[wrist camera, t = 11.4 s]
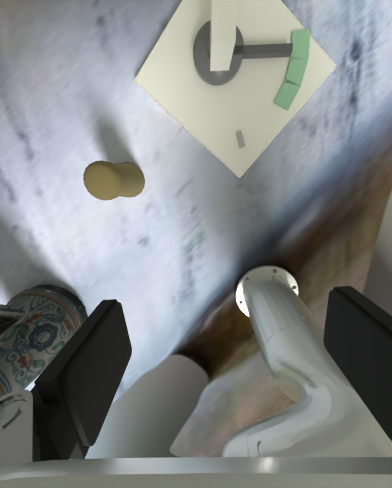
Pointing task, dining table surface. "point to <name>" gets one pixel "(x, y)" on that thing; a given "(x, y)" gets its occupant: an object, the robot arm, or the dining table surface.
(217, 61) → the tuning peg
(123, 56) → the dining table surface
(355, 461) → the robot arm
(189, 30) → the dial board
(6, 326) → the beer stein
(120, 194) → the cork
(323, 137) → the dining table surface
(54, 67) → the dining table surface
